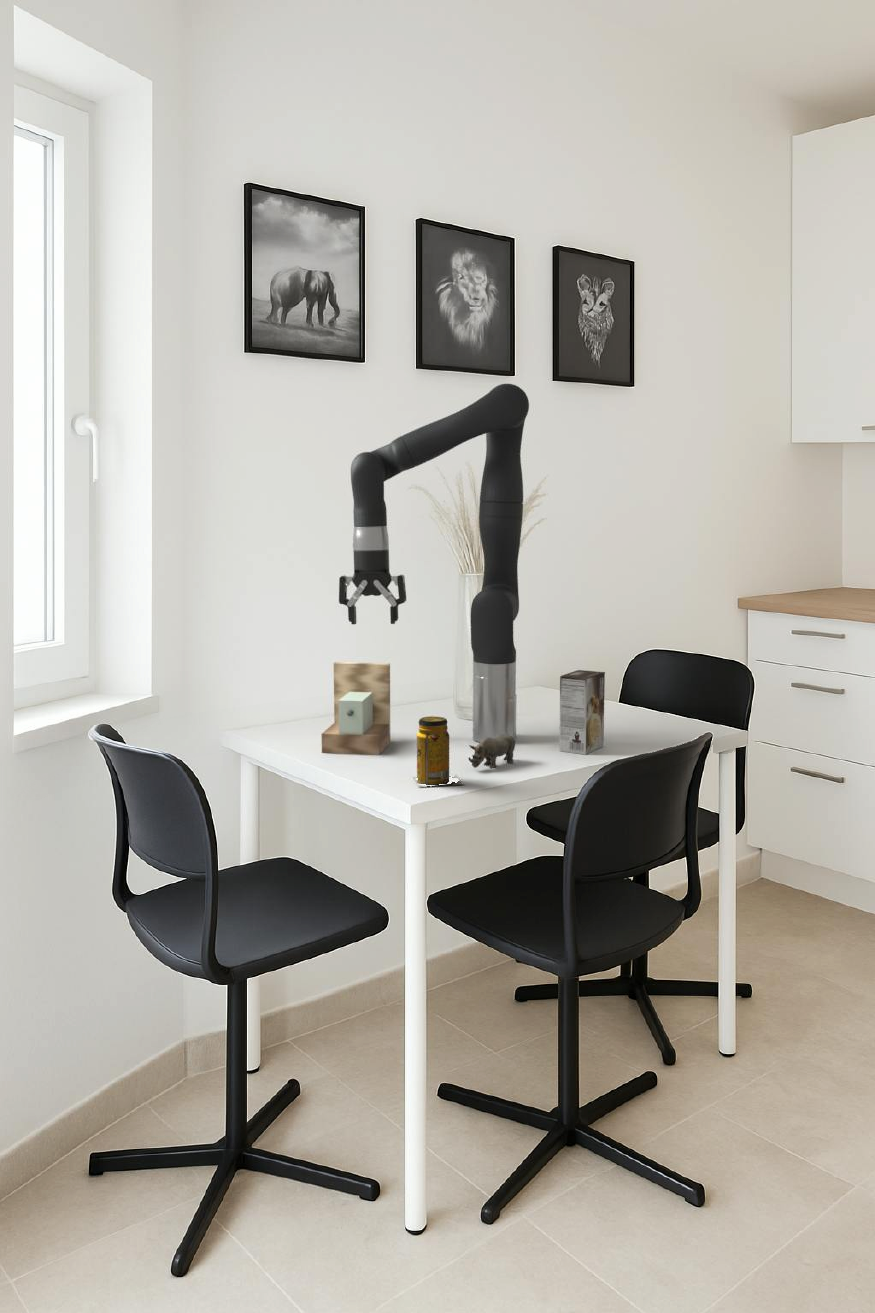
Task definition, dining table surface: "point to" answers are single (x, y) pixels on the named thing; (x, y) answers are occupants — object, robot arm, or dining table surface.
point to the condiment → (433, 752)
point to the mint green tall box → (355, 713)
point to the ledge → (356, 740)
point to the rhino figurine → (493, 750)
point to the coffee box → (581, 711)
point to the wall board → (364, 686)
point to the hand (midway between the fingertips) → (373, 623)
